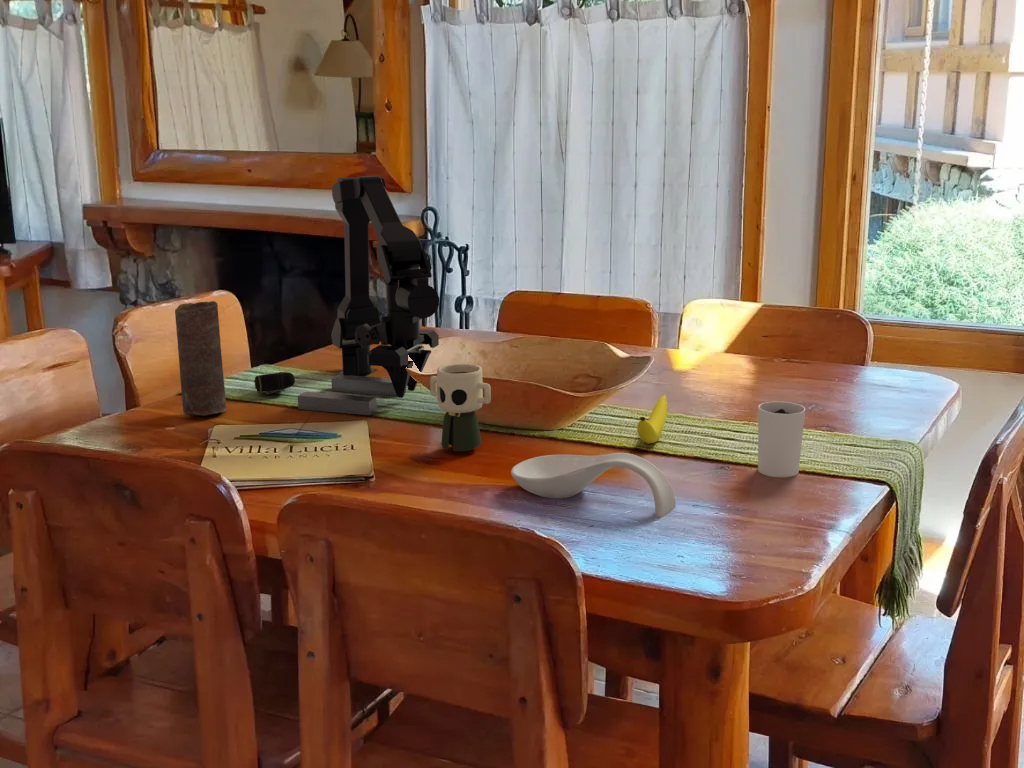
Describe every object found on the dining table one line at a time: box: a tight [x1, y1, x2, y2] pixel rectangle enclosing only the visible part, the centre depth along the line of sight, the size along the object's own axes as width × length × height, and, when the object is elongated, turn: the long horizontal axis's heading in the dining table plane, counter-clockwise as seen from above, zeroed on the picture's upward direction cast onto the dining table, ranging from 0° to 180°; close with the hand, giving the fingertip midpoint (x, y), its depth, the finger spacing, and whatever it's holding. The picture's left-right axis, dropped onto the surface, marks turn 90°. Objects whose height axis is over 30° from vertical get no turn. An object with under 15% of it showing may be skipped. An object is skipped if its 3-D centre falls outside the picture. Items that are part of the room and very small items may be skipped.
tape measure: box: [253, 371, 296, 395], centre depth 203 cm, size 7×7×4 cm
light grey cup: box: [757, 400, 806, 478], centre depth 157 cm, size 7×7×10 cm
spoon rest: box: [510, 452, 677, 518], centre depth 148 cm, size 24×12×7 cm, turn 58°
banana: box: [636, 394, 668, 445], centre depth 174 cm, size 3×19×6 cm, turn 162°
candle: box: [174, 300, 227, 417], centre depth 188 cm, size 8×7×20 cm
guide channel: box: [297, 375, 407, 416], centre depth 199 cm, size 16×14×2 cm
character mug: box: [429, 363, 492, 452], centre depth 169 cm, size 11×7×13 cm, turn 61°
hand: (405, 394), depth 195 cm, fingers open, 5 cm apart
